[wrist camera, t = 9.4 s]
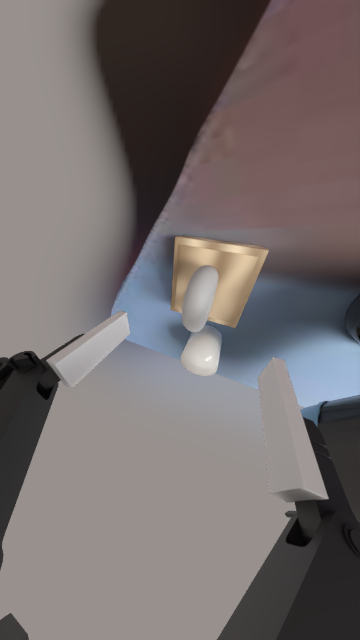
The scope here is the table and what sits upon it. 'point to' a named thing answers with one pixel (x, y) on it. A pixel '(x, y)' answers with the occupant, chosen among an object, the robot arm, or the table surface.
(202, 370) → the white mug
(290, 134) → the table surface
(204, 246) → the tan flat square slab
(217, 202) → the table surface
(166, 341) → the table surface
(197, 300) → the donut
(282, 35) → the table surface
